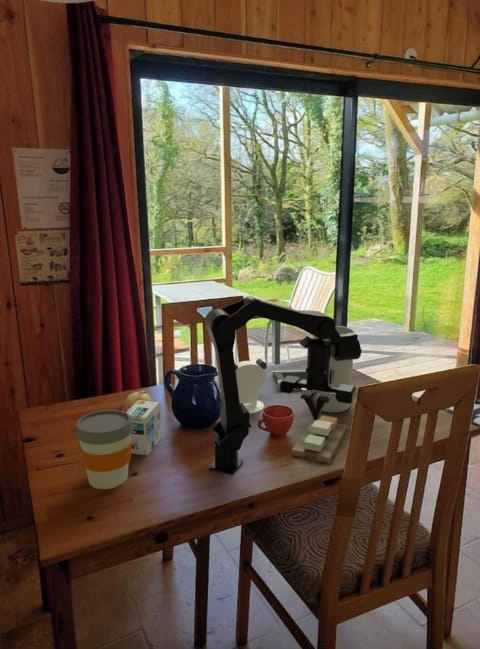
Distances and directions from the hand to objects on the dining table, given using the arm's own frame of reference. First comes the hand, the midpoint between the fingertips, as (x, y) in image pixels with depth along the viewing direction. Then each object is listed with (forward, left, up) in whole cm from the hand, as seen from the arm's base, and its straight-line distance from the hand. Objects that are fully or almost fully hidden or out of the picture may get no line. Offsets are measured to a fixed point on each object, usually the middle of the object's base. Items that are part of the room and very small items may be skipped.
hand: (316, 419), depth 126 cm
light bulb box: (-16, +43, -10) cm, 47 cm away
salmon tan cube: (+13, 0, -9) cm, 16 cm away
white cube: (+6, 0, -8) cm, 10 cm away
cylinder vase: (+31, +4, -10) cm, 33 cm away
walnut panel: (+6, 0, -9) cm, 11 cm away
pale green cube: (0, 0, -9) cm, 9 cm away
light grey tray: (+47, +20, -10) cm, 53 cm away
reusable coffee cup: (-33, +41, -10) cm, 53 cm away
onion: (+1, +57, -10) cm, 58 cm away
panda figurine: (+19, +28, -10) cm, 35 cm away
